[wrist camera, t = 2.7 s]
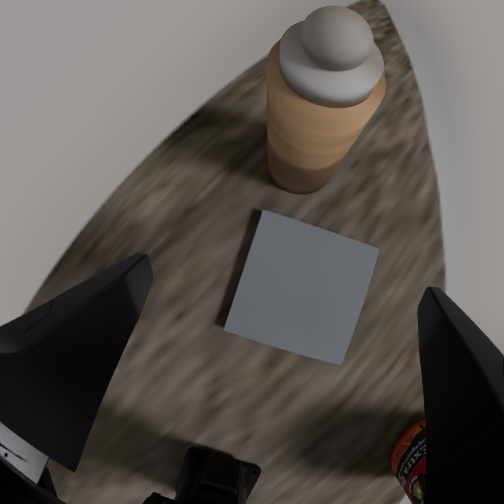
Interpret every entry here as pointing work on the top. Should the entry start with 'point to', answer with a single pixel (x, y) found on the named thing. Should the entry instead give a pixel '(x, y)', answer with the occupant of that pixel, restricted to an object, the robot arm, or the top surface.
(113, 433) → the top surface
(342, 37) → the pepper mill
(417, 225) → the top surface
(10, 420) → the robot arm
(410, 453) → the canned food
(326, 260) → the plate
